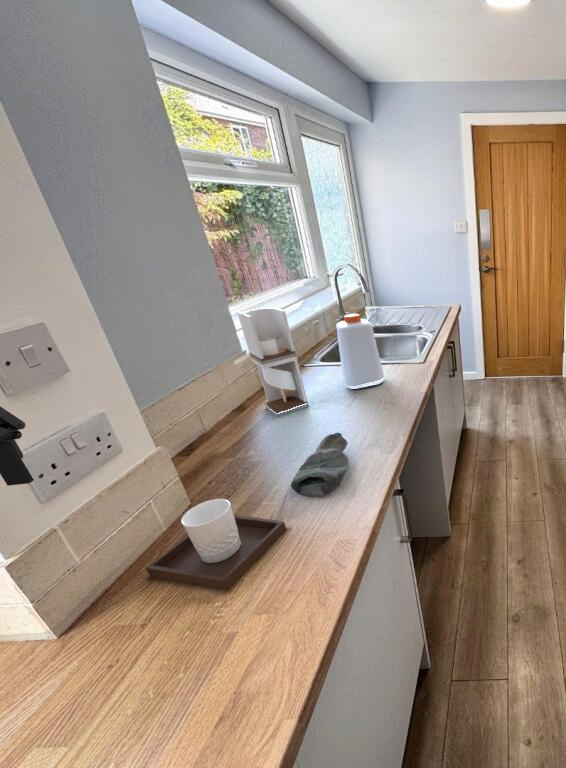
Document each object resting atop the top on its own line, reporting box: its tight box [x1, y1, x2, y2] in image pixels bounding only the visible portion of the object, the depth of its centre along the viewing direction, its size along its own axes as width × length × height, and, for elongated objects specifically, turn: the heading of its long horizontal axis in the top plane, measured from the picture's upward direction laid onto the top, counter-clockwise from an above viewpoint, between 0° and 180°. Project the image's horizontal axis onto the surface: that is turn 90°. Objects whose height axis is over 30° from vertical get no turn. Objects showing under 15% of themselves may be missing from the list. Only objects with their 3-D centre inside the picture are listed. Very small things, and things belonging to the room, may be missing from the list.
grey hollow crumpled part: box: [290, 432, 349, 498], centre depth 107 cm, size 13×7×25 cm
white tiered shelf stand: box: [237, 306, 309, 418], centre depth 139 cm, size 11×11×35 cm
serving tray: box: [145, 514, 287, 591], centre depth 82 cm, size 18×16×2 cm
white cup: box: [180, 498, 241, 563], centre depth 80 cm, size 8×8×10 cm
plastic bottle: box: [335, 313, 385, 386], centre depth 160 cm, size 15×15×28 cm
